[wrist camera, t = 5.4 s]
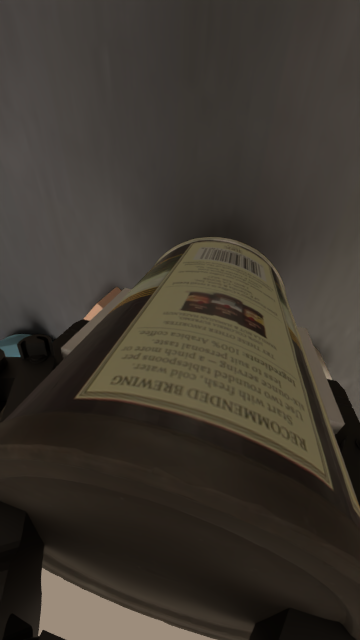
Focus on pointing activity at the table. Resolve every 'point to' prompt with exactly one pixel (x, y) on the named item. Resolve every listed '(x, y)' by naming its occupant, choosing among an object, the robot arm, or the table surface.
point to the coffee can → (191, 455)
